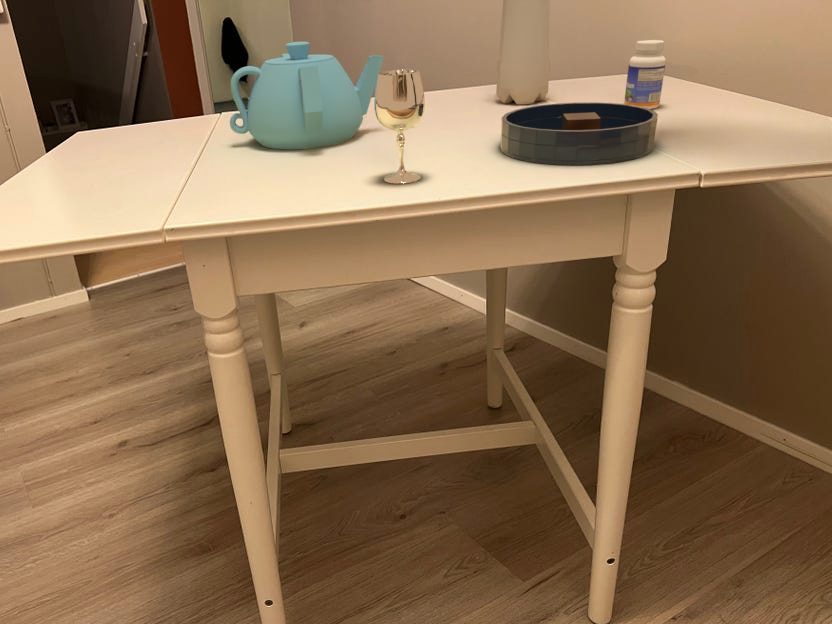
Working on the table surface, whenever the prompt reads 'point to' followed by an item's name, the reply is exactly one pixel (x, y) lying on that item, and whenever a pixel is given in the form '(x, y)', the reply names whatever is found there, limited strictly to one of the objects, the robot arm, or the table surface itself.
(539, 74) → the bottle
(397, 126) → the wineglass
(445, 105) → the table surface
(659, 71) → the pill bottle
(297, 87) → the teapot
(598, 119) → the block
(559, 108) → the bowl
